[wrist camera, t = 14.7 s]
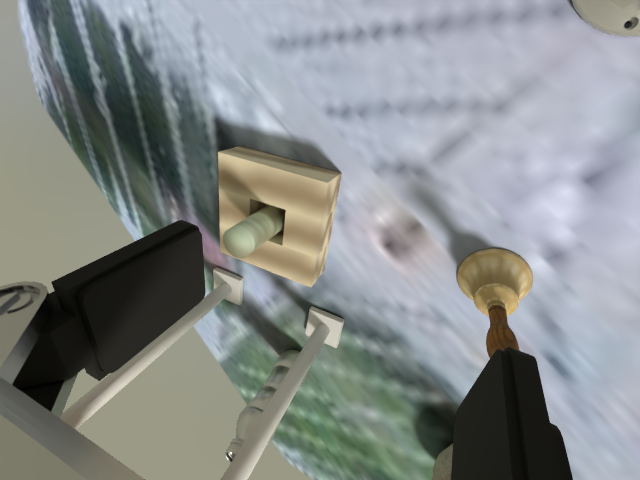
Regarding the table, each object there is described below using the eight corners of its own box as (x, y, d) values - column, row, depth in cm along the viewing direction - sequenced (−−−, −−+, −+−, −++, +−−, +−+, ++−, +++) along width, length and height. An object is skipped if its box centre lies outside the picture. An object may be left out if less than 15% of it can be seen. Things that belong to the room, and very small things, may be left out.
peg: (270, 196, 46) (222, 224, 37) (294, 204, 45) (251, 234, 36) (268, 220, 48) (222, 252, 39) (291, 228, 47) (249, 262, 38)
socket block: (240, 145, 46) (218, 151, 42) (341, 172, 41) (327, 182, 37) (239, 239, 54) (220, 252, 50) (324, 270, 49) (310, 287, 45)
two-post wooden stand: (215, 230, 55) (-69, 396, 26) (353, 281, 48) (175, 590, 19) (217, 291, 62) (-6, 476, 33) (338, 344, 55) (190, 640, 26)
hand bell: (448, 256, 40) (439, 339, 27) (523, 241, 36) (554, 331, 23) (467, 308, 42) (466, 409, 29) (539, 300, 38) (576, 414, 25)
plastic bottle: (277, 353, 63) (209, 449, 46) (295, 339, 59) (228, 438, 42) (300, 375, 63) (241, 479, 46) (320, 363, 59) (262, 471, 42)
